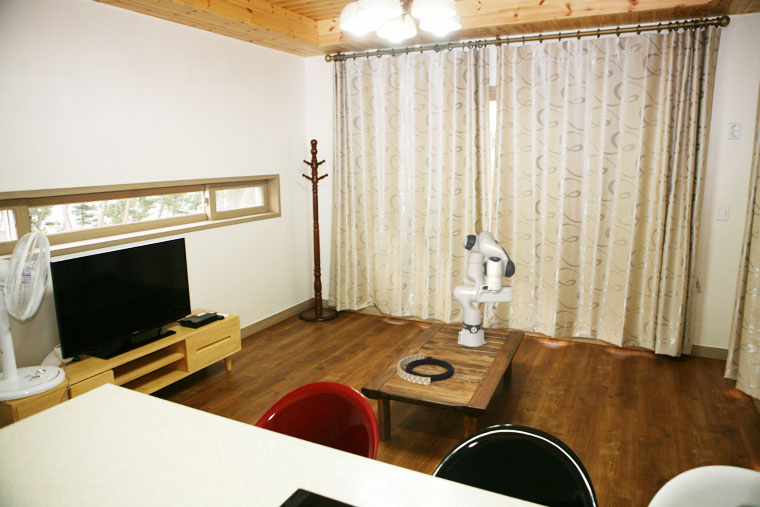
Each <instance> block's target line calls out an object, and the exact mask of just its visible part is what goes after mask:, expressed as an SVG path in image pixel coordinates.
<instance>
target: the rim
mask: <svg viewBox="0 0 760 507" xmlns="http://www.w3.org/2000/svg"><path fill="white" fill-rule="evenodd" d="M423 358H425V353H417V354H412V355H407V356H405V357H403V358H401V359H400V360H398V362H397V363H396V364H397V365H396V373H397V375H398V376H399V377H400V378H401V379H404V380H405V381H408V382H411V383H414V384H419V385H427V386H428V385H431V381H430V377H420V376H415V375H411V374H408V373H406V370H403V369H402V367H403V366H405V365H408V364H409V363H410V362H412V361H414V360H419V359H423Z"/></svg>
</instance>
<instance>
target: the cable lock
mask: <svg viewBox="0 0 760 507" xmlns="http://www.w3.org/2000/svg"><path fill="white" fill-rule="evenodd" d="M423 365H424V366H425V365H431V366H439V367H442V368H444V369H445V370H446V371H445V372H442V373H438V374H425V373H419V372H416V371H414V370H413V369H414V368H416V367H419V366H423ZM404 371H405V372H406V373H408V374H411V375H415V376H420V377H430V382H438V381H444V380H447V379H448V378H451V377H452V376H453V375H454V371H455V369H454V367H453V365H452V364H451V363H450V362H447V361H446V360H442V359H438V358H435V357H434V358H433V356H430V355H428V356H426V357H424V358H423V359H419V360H414V361H412V362H410V363H407V364H406V366H405V370H404Z"/></svg>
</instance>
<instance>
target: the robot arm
mask: <svg viewBox="0 0 760 507" xmlns="http://www.w3.org/2000/svg"><path fill="white" fill-rule="evenodd" d="M463 245H464V246H463V247H464V249H465V250H467V251H470V252H469V254H468V258H467V263H466V271H465V274H466V278H467V279H468V280H469V281H470V282H473V283H474V285H471V284H460V285H459V284H458V285H455V287H453V290H452V297H453V298H454V299H455V300H456V301H457V303H459V305H460V306H461V308H462V311H463V322H462V328H461V331H458V338H457V344H458V345H461V346H464V347H465V346H466V347H470V348H471V347H474V348H475V347H476V348H477V347H481V346H483V345H485V344H487V341H486V340H485V332H484V330H483V329H482V328H483V327H482V326H483V325H482V311H481V310H480V308H478V307H477V306H475V305H474V304H473V303H476V304H477V303H479V304H480V303H481V304H486V303H489V305H490V309H491V310H497V309H498V308H497V307H498V306H499V304H500V302H501V303H506V302H507V303H508V302H509V303H510V302H512V300H513V287H512V285H503V278H512V277H513V276H514V275H515V273H516V265H515V262H514V261H513V260H512V259H511V258H510V256H509V255H508V253H507V251H506V250H505V248H504V247H503V246H501V245H500V244H499V243H498V240H497V239H495V237H494V235H493V234H492V233H491V232H490V231H488V230H487V231H486V230H484V231H481V232H480V233H479V234H478V235H475V234H468V235H466V237H465V238H464V241H463ZM485 257H488V260H485ZM484 276H485V277H486V281H485V278H484ZM493 303H495V304H494V305H493Z"/></svg>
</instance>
